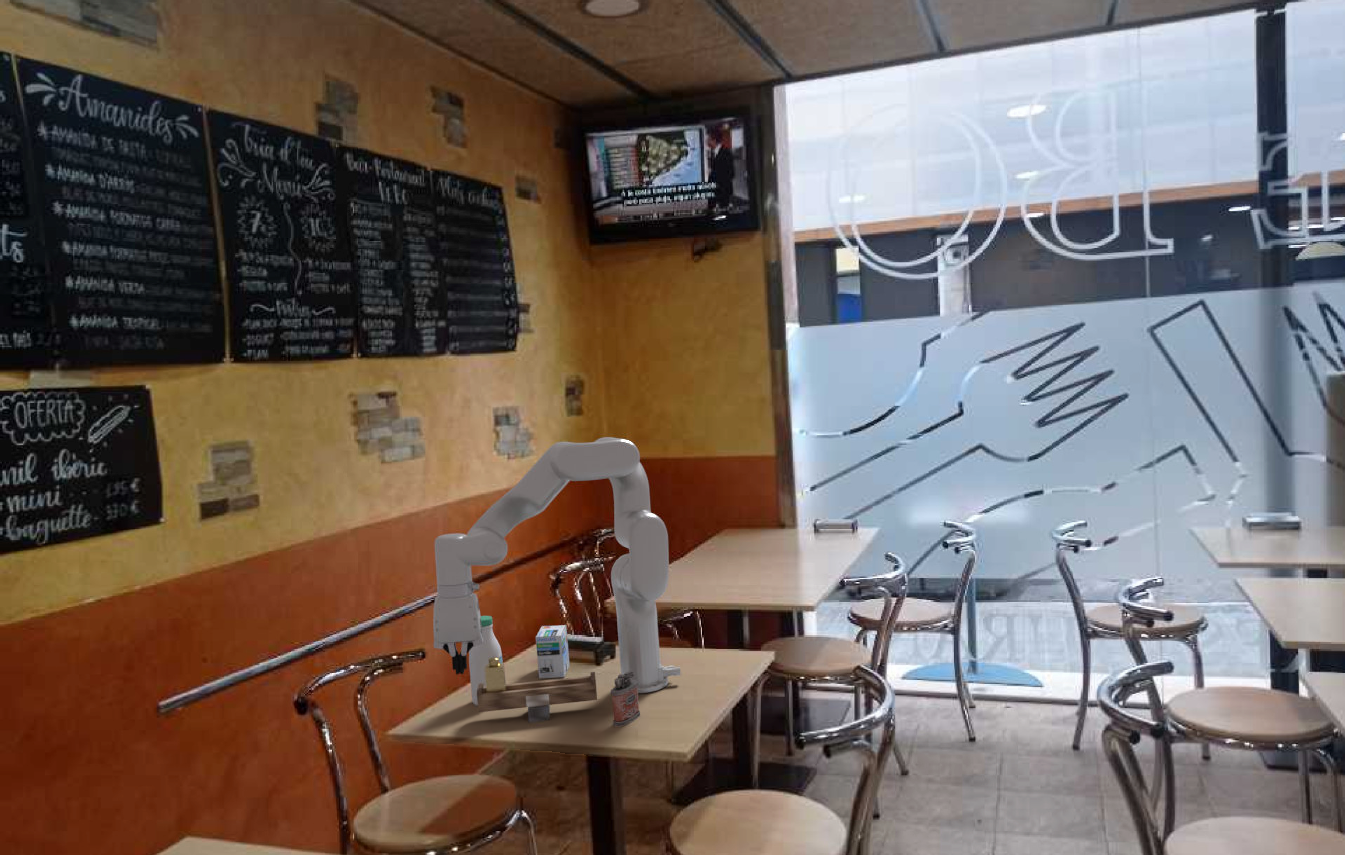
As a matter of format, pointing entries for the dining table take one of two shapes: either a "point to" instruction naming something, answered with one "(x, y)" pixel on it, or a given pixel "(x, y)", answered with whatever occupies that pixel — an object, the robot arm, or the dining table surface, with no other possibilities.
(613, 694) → the lighter
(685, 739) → the dining table surface
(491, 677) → the rider
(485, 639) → the milk bottle
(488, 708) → the beam
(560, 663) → the light bulb box
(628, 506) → the robot arm
